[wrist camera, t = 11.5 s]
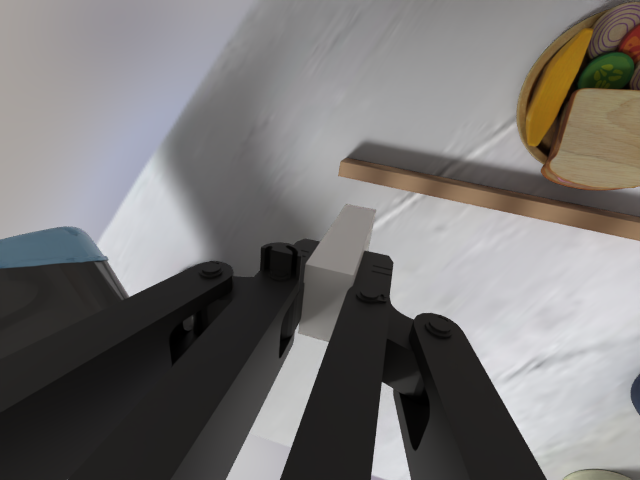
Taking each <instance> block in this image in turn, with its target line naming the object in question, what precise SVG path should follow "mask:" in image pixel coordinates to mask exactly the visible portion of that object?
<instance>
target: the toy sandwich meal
mask: <svg viewBox="0 0 640 480" xmlns="http://www.w3.org/2000/svg"><path fill="white" fill-rule="evenodd" d="M517 126H518V131H519V134H520V138H521V140H522V142H523V144H524V146H525V147H526V149H527V150H528V151H529V153H530V154H531V155H532V156H533V157H534V158H535V159H536V160H538V161H539V162H541V163H542V164H544V165H543V167H542V169H541V173H542V175H543V176H544V177H545V178H547V179H548V180H550V181H552V182H554V183H557V184H560V185H564V186H567V187H571V188H577V189H583V190H616V189H623V188H635V187H638V186H640V2H628V3H623V4H620V5H618V6H616V7H614V8H612V9H609V10H605V11H603V12H600V13H598V14H595V15H593V16H591V17H589V18H587V19H585V20H583V21H581V22H580V23H578V24H576V25H575V26H573V27H572V28H570V29H569V30H567V31H566V32H565V33H563V34H562V35H561V36H560V37H558V38H557V39H556V40H555V41H554V42H553V43H552V44H551V45H550V46H549V47H548V48H547V49H546V50H545V51H544V52H543V53H542V55H541V56H540V57H539V58H538V60H537V61H536V62H535V64H534V65H533V67H532V68H531V70H530V72H529V74H528V75H527V77H526V79H525V81H524V84H523V86H522V89H521V92H520V95H519V99H518V104H517Z"/></svg>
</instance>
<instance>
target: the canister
mask: <svg viewBox="0 0 640 480" xmlns="http://www.w3.org/2000/svg"><path fill="white" fill-rule="evenodd" d="M631 400H632V403H633V405H634V407H635V409H636V410H637V412H638V413H639V415H640V375H639V376H638V377H637V378H636V379H635V381H634V383H633V384H632V387H631Z"/></svg>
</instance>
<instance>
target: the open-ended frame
mask: <svg viewBox="0 0 640 480" xmlns="http://www.w3.org/2000/svg"><path fill="white" fill-rule="evenodd" d="M338 176H341V177H346V178H351V179H355V180H360V181H364V182H369V183H374V184H378V185H383V186H388V187H392V188H397V189H401V190H406V191H411V192H415V193H420V194H425V195H429V196H434V197H439V198H443V199H448V200H452V201H457V202H462V203H466V204H471V205H476V206H480V207H485V208H489V209H494V210H499V211H503V212H508V213H513V214H517V215H522V216H527V217H531V218H536V219H540V220H545V221H550V222H554V223H559V224H564V225H568V226H573V227H578V228H582V229H587V230H591V231H596V232H601V233H605V234H610V235H615V236H619V237H624V238H628V239H633V240H638V241H640V217H637V216H632V215H627V214H622V213H617V212H612V211H607V210H602V209H597V208H592V207H587V206H582V205H578V204H573V203H568V202H563V201H558V200H553V199H548V198H543V197H538V196H533V195H528V194H523V193H518V192H513V191H508V190H503V189H498V188H493V187H488V186H484V185H479V184H474V183H469V182H464V181H459V180H454V179H449V178H444V177H439V176H434V175H429V174H424V173H419V172H414V171H409V170H404V169H399V168H394V167H390V166H385V165H380V164H375V163H370V162H365V161H360V160H355V159H350V158H345V159H343V160H342V161H341V162H340V168H339V174H338Z"/></svg>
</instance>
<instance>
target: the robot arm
mask: <svg viewBox="0 0 640 480" xmlns="http://www.w3.org/2000/svg"><path fill="white" fill-rule="evenodd" d="M375 213H376V210H374V209H369V208H364V207H359V206H353V205H348V204H346V205H345V206H344V208H343V209H342V211H341V212H340V214H339V215H338V217H337V218H336V220H335V221H334V223H333V224H332V225H331V227H330V228H329V230H328V231H327V233H326V234H325V236H324V237H323V239H322V240H321V242H319V241H314V240H309V239H303V240H300V241H298V242H296V243H295V244H294V245H291V244H288V243H270V244H266V245H264V246H263V247H261V264H260V271H259V272H258V273H257V274H256V275H255V277H233V269H232V267H231V266H229V265H228V264H226V263H222V262H217V261H216V262H215V261H210V262H204V263H201V264H198V265H195V266H193V267H191V268H189V269H187V270H185V271H183V272H181V273H179V274H176V275H174V276H172V277H170V278H168V279H166V280H164V281H162V282H160V283H158V284H156V285H154V286H151V287H149V288H147V289H145V290H143V291H141V292H139V293H137V294H135V295H133V296H131V297H129V296H128V294H127V292H126V291H125V289H124V288H123V286H122V284H121V283H120V281H119V279H118V278H117V276H116V275H115V273H114V271H113V270H112V268H111V267H110V265H109V263H108V262H107V261H108V258H107V257H106V256H104V255H103V254H102V253H101V251H100V250H99V249H98V247H97V246H96V244H95V243H94V241H93V240H92V239H91V237H90V236H89V235H88V234H87V233H86V232H85V231H83V230H81V229H79V228H76V227H57V228H51V229H46V230H41V231H36V232H32V233H27V234H22V235H18V236H13V237H9V238H5V239H1V240H0V480H226V478H227V476H228V474H229V472H230V470H231V468H232V466H233V463H234V461H235V460H236V458H237V455H238V454H239V452H240V450H241V448H242V446H243V444H244V442H245V440H246V437H247V435H248V434H249V431H250V429H251V427H252V425H253V423H254V421H255V419H256V417H257V415H258V413H259V411H260V409H261V407H262V405H263V403H264V401H265V399H266V397H267V395H268V393H269V391H270V389H271V387H272V385H273V383H274V381H275V379H276V377H277V375H278V373H279V371H280V369H281V367H282V365H283V363H284V361H285V359H286V357H287V355H288V353H289V351H290V349H291V347H292V345H293V341H294V334H295V329H296V327H297V326H298V324H299V331H298V333H299V334H302V335H306V336H309V337H313V338H317V339H320V340H324V341H327V342H329V344H328V346H327V349H326V352H325V355H324V358H323V360H322V363H321V366H320V369H319V372H318V374H317V377H316V380H315V383H314V386H313V388H312V391H311V394H310V397H309V400H308V402H307V405H306V408H305V411H304V414H303V417H302V419H301V422H300V425H299V428H298V431H297V433H296V436H295V439H294V442H293V445H292V447H291V450H290V453H289V456H288V459H287V461H286V464H285V467H284V470H283V473H282V476H281V478H280V480H371V472H372V463H373V455H374V446H375V437H376V428H377V419H378V410H379V402H380V393H381V384H382V382H383V383H385V384H387V385H388V386H390V387H392V388H393V396H394V401H395V405H396V410H397V415H398V419H399V424H400V429H401V434H402V438H403V443H404V448H405V453H406V457H407V462H408V467H409V471H410V476H411V480H547V479H546V477H545V476H544V474H543V472H542V470H541V468H540V467H539V465H538V463H537V461H536V460H535V458H534V456H533V454H532V453H531V451H530V449H529V447H528V445H527V444H526V442H525V440H524V438H523V437H522V435H521V433H520V431H519V430H518V428H517V426H516V424H515V422H514V421H513V419H512V417H511V415H510V414H509V412H508V410H507V408H506V407H505V405H504V403H503V401H502V399H501V398H500V396H499V394H498V392H497V391H496V389H495V387H494V385H493V384H492V382H491V380H490V378H489V376H488V375H487V373H486V371H485V369H484V368H483V366H482V364H481V362H480V361H479V359H478V357H477V355H476V353H475V352H474V350H473V348H472V346H471V345H470V343H469V341H468V339H467V338H466V336H465V334H464V332H463V331H462V330H461V328H460V327H459V326H458V325H457V324H456V323H454V322H453V321H452V320H450V319H448V318H446V317H444V316H441V315H438V314H433V313H422V314H420V315H417V316H416V318H415V319H414V320H413V319H411V318H409V317H407V316H405V315H403V314H401V313H400V312H399V311H397V310H396V309H395V308H394V307H393V306H392V304H391V301H390V297H389V296H390V288H391V279H392V270H393V261H392V260H391V258H390V257H389V256H387V255H383V254H378V253H373V252H369V251H368V249H369V243H370V238H371V233H372V228H373V223H374V218H375Z"/></svg>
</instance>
